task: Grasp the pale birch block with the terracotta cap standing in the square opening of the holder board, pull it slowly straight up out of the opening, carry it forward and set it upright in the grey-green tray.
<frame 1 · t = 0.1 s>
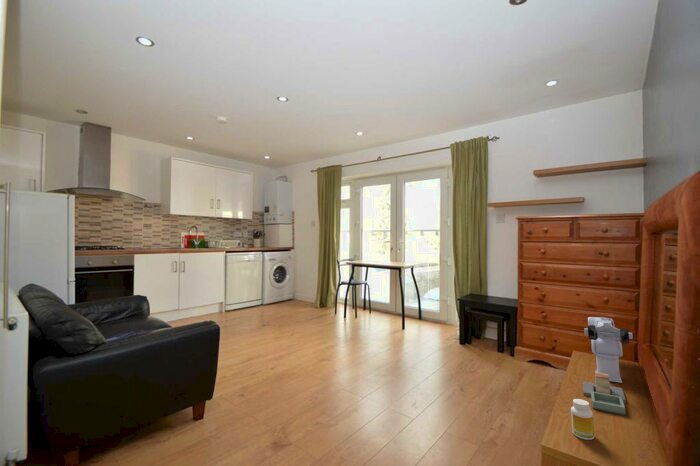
hand: (609, 337, 117), 22 cm above the table, tool horizontal, fingers open, 7 cm apart
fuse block: (603, 394, 119), resting in holder board
holder board: (603, 393, 119), on the table
supplement bottle: (583, 435, 95), on the table
tray: (607, 406, 110), on the table
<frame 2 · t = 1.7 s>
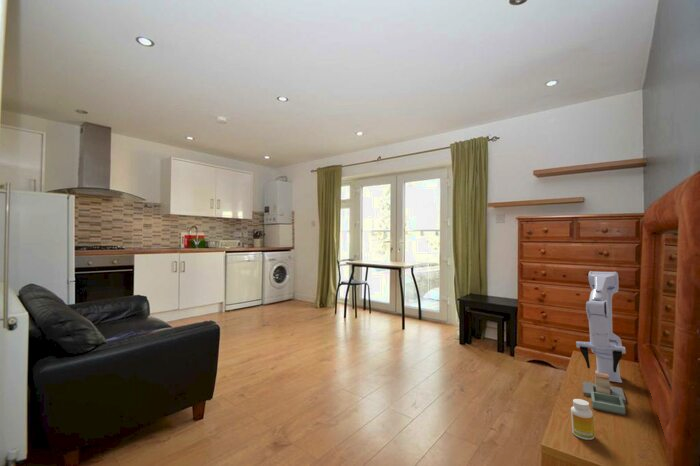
hand: (601, 369, 119), 9 cm above the table, tool pointing down, fingers open, 7 cm apart
nothing on the table moved.
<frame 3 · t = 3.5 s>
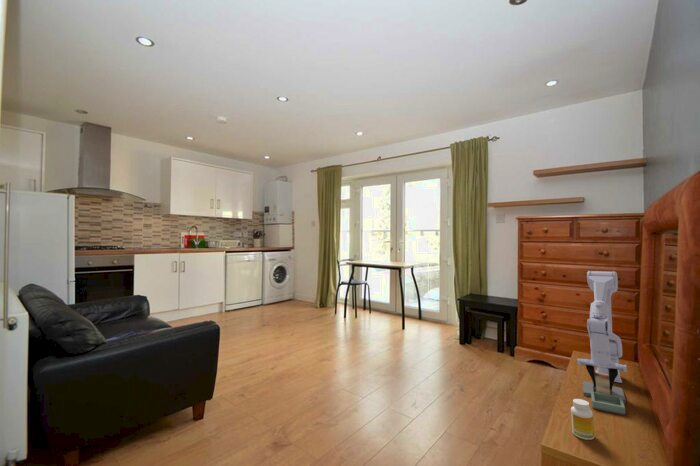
hand: (602, 387, 119), 2 cm above the table, tool pointing down, fingers closed on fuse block, 4 cm apart
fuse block: (603, 394, 119), resting in holder board, touching gripper
everything else where it was.
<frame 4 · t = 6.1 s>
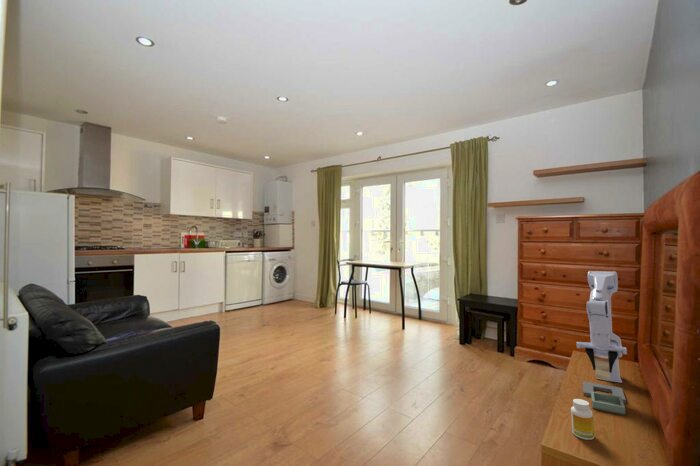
hand: (602, 370, 117), 10 cm above the table, tool pointing down, fingers closed on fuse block, 4 cm apart
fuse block: (602, 377, 117), point 7 cm above the table, touching gripper
everything else where it was.
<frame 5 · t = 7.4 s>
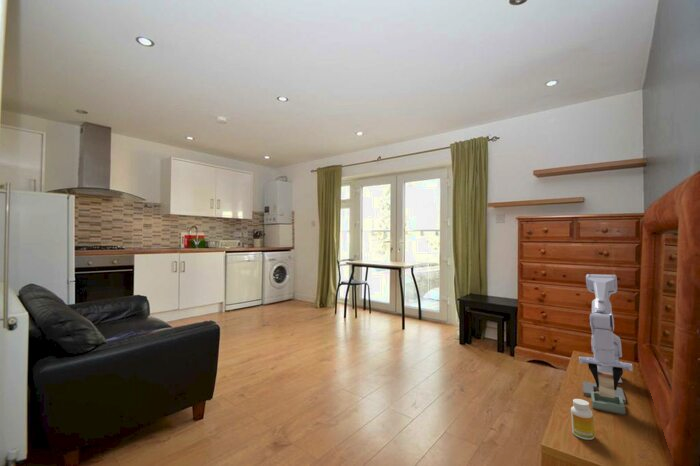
hand: (606, 387, 110), 6 cm above the table, tool pointing down, fingers closed on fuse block, 4 cm apart
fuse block: (606, 394, 110), point 4 cm above the table, touching gripper
everything else where it was.
when the fingers open (4 cm above the table, at t = 8.7 s): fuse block drops 1 cm, resting on tray.
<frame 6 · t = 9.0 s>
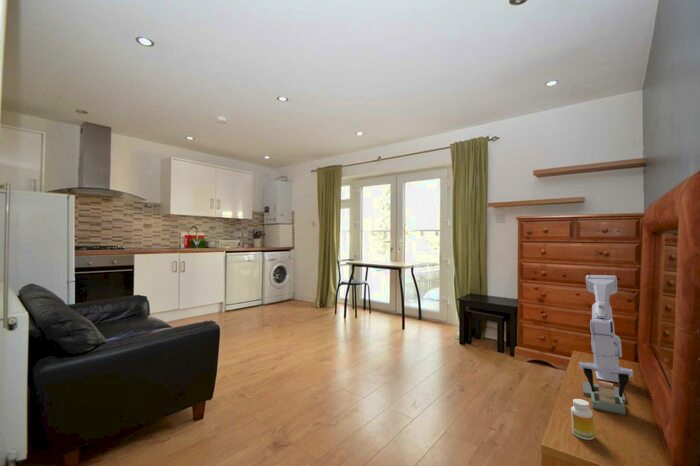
hand: (606, 393, 110), 4 cm above the table, tool pointing down, fingers open, 7 cm apart
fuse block: (607, 404, 110), resting on tray
everything else where it was.
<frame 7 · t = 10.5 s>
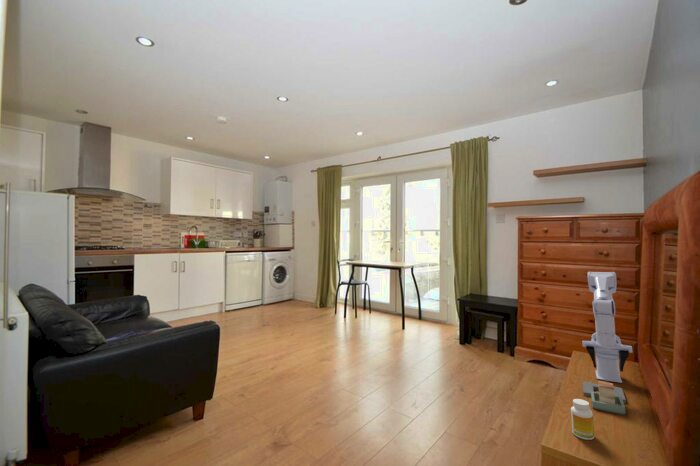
hand: (607, 368, 119), 9 cm above the table, tool pointing down, fingers open, 7 cm apart
nothing on the table moved.
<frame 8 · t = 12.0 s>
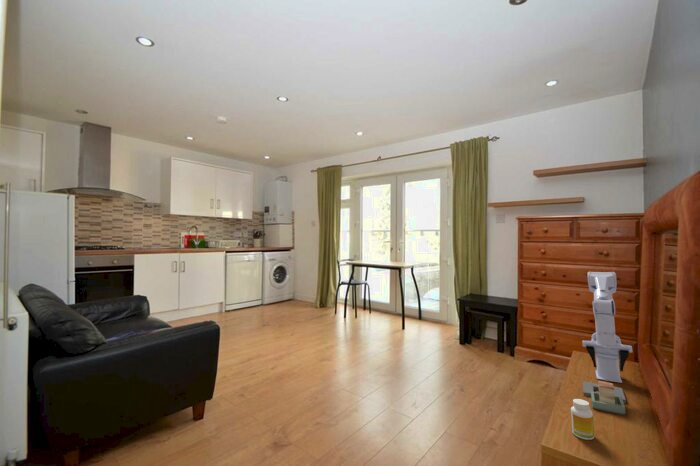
hand: (607, 368, 119), 9 cm above the table, tool pointing down, fingers open, 7 cm apart
nothing on the table moved.
at the end: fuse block 0.1 cm off-centre on the tray, point 0.5 cm above the tray's base; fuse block tilted 0°; the gripper is holding nothing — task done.
